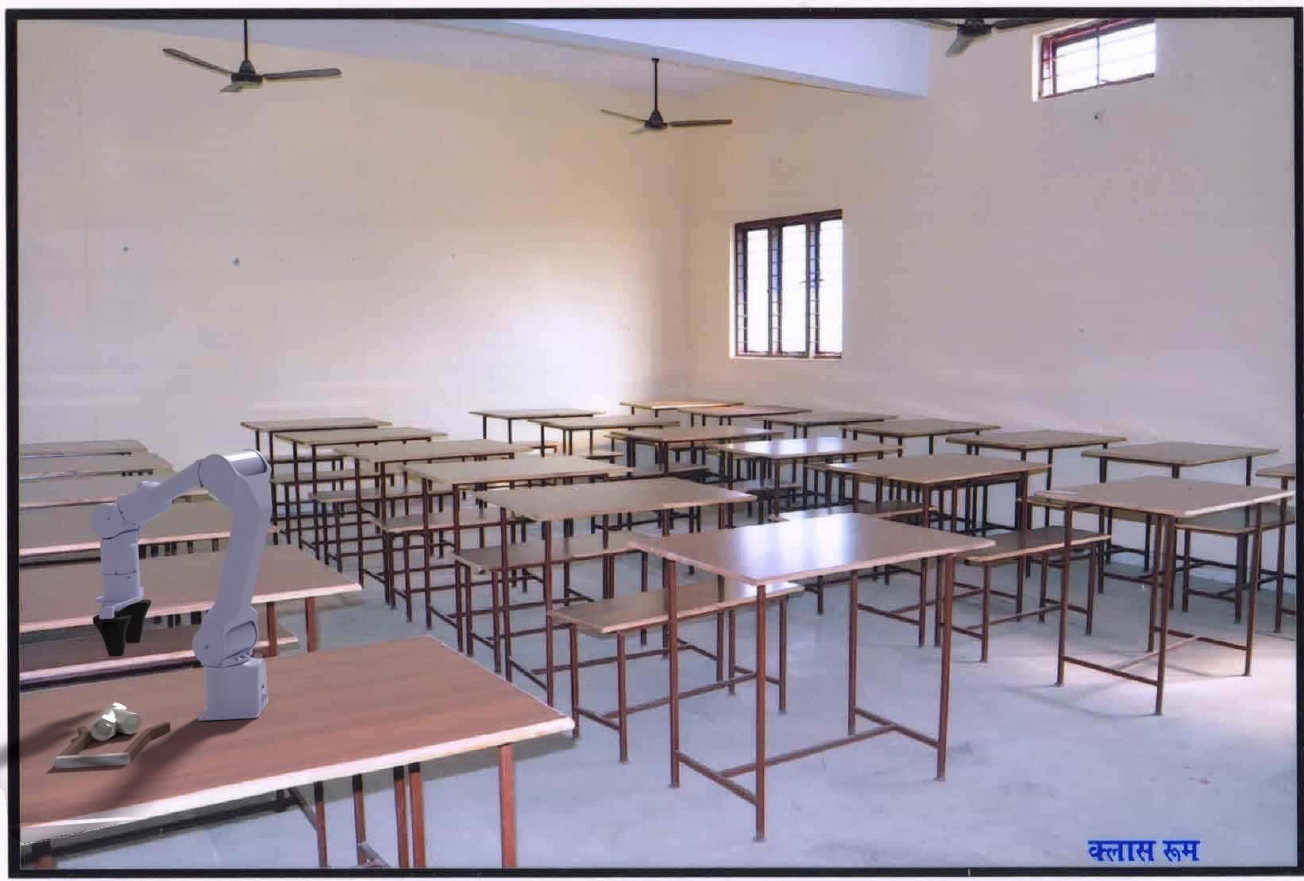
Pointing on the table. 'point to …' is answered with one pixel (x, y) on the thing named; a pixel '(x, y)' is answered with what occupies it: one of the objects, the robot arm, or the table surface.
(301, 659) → the table surface
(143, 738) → the angular open frame
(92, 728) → the pipe fitting
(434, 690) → the table surface
